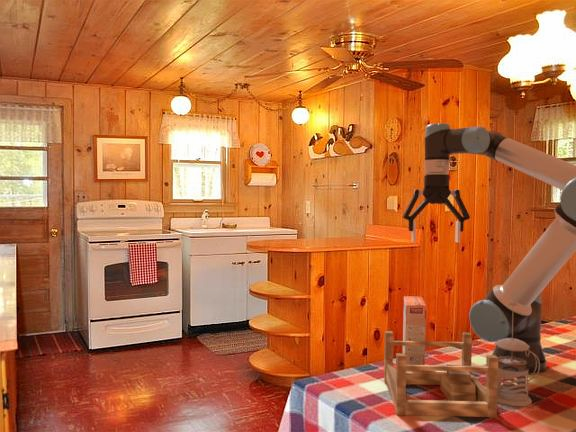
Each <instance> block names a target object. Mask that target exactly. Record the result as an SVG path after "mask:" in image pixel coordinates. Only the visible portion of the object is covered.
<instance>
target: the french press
mask: <svg viewBox="0 0 576 432" xmlns="http://www.w3.org/2000/svg"><path fill="white" fill-rule="evenodd" d="M509 305H511V306H517V303H516V301H510V302H509ZM494 345H495V346H497V347H498V348H501V349H504V350H509V351H525V355H526V356H528V357H529V353H532V354H533V355H534V357H535V356H536V355H535V354H534V353H533V352H531V351H530V350H528V349H529V348H530V346H529V345H528V344H526V343H525V342H523V341H521V340H518V339H515V338H513V314H512V338H505V339H501V340H498V341H496V342H494ZM526 351H530V352H528V355H527V354H526ZM536 357H537V356H536ZM536 357H535V360H536ZM537 359H538V357H537ZM538 362H539V368H538V372H537V373H535V371H536V368H537V360H536V367H535V370H534V372H533V373H530V375H529V373H528V368H527V371H526V366H525V365H526V364H527V362H526V360H524V359H521V358H516V357H512V356H511V357H509V356H500V357H498V389H497V403H500V404H503V405H506V406H513V407H526V406H529V405H532V403H533V401H532V399H531V398H530V396H529V384H530V383H529V382H530V381H531V380H533V379H535V378H536V377H537V376H538V375H539V374H540V373H539V370H540V361H539V359H538ZM505 366H512V367H515V368H517V369H518V371H516V370H514V369H511V368H507V369H501V368H503V367H505ZM534 374H536V375H534ZM533 375H534V376H533ZM532 376H533V377H532ZM530 377H531V378H530Z"/></svg>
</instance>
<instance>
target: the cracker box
mask: <svg viewBox="0 0 576 432" xmlns="http://www.w3.org/2000/svg"><path fill="white" fill-rule="evenodd" d="M402 323H403V325H402V341H426V330H427V305H426V302H425V300H424V297H422V296H414V295H413V296H410V295H405V296H403V322H402ZM402 353H405V355H406V365H426V364H425V363H426V346H402ZM406 371H413V372H426V371H420V370H406Z"/></svg>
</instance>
